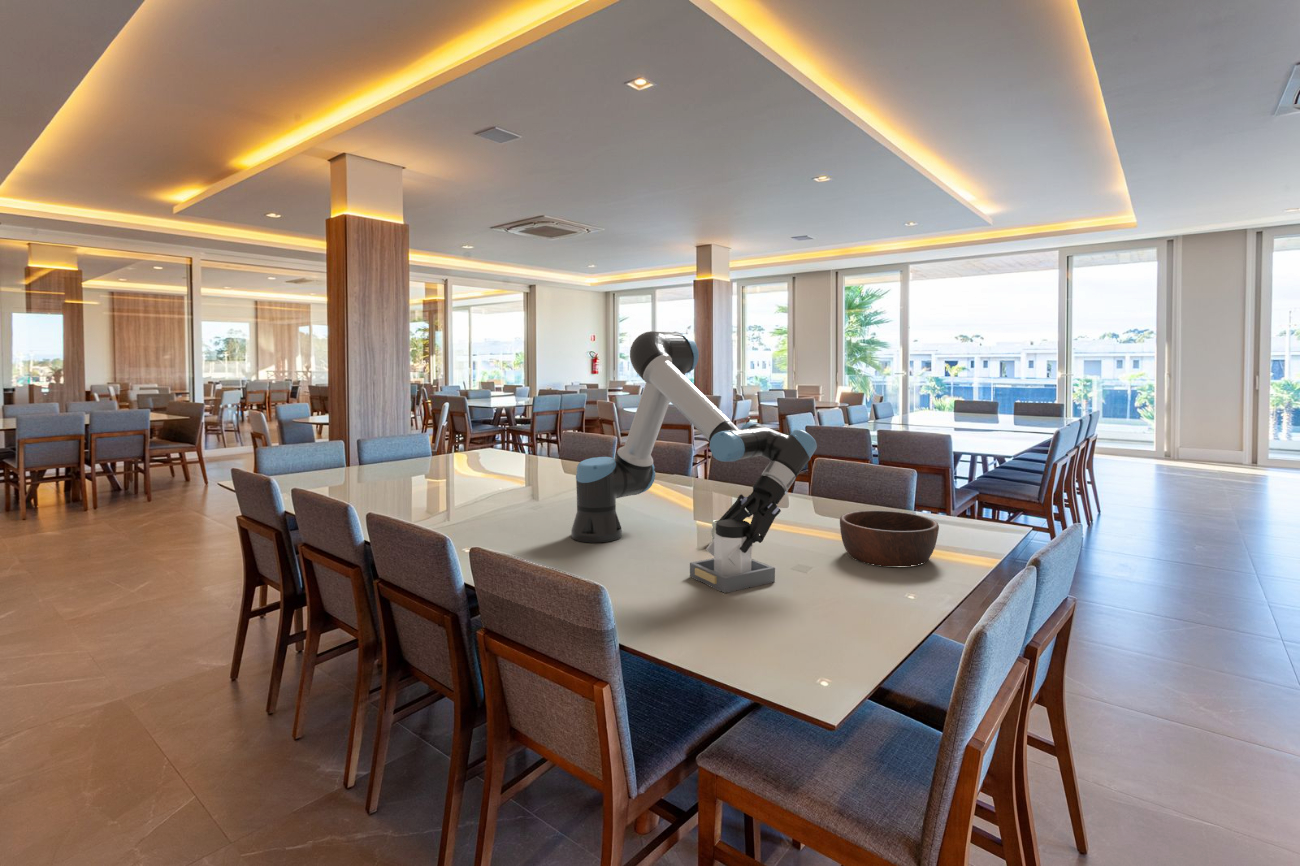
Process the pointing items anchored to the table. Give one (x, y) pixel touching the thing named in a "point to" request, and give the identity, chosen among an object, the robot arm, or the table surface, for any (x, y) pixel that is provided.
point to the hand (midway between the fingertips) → (720, 556)
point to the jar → (730, 547)
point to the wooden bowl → (888, 537)
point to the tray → (733, 582)
